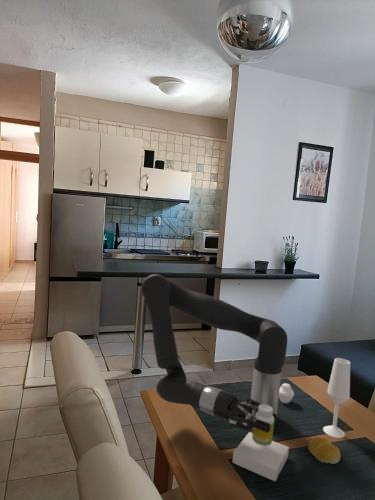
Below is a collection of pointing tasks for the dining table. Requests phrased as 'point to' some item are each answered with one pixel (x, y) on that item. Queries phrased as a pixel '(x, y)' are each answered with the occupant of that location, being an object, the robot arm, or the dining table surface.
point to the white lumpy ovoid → (285, 393)
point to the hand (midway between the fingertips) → (273, 423)
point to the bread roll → (324, 450)
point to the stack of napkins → (261, 457)
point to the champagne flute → (338, 392)
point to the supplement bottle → (266, 416)
